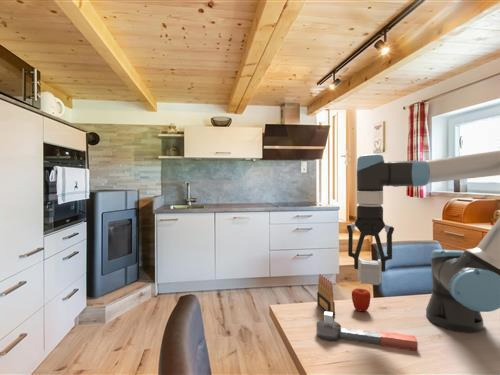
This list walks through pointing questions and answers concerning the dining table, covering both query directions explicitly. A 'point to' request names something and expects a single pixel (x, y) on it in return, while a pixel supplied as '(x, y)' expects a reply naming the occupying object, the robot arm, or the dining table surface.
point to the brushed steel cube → (369, 272)
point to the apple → (361, 299)
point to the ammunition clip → (325, 295)
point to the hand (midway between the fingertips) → (369, 280)
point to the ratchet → (363, 335)
